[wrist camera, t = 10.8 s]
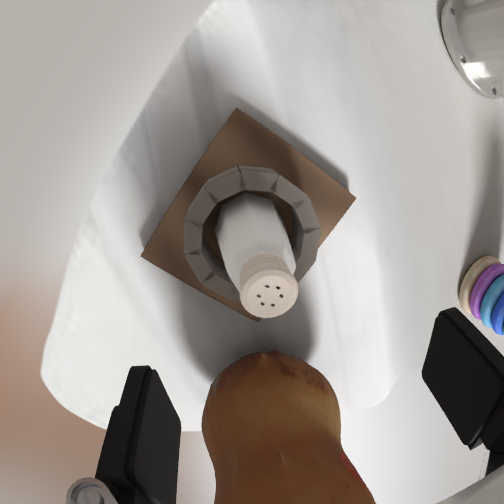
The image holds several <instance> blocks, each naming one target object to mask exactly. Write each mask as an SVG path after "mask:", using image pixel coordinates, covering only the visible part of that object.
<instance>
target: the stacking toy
mask: <svg viewBox="0 0 504 504" xmlns="http://www.w3.org/2000/svg"><path fill="white" fill-rule="evenodd" d="M459 301H460V305H461V307H462V309H463V310H464V311H465V312H466V313H468V314H473V316H474V317H475V318H477V319H480V320H482V322H483V324H484V325H485V326H487V327H489V328H493V330H494V331H495V332H496V333H497V334H499V335H504V264H501V263H500V261H499V260H498V259H497V258H495V257H493V256H484V257H482V258H480V259H479V260H477V261H476V262H475V263H474V264H473V265H472V266H471V268H470V269H469V270H468V272H467V273H466V275H465V277H464V279H463V281H462V284H461V288H460V293H459Z"/></svg>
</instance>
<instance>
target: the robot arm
mask: <svg viewBox="0 0 504 504" xmlns="http://www.w3.org/2000/svg"><path fill="white" fill-rule="evenodd" d="M441 24H442V31H443V36H444V40H445V43H446V46H447V49H448V51H449V53H450V56H451V58H452V60H453V62H454V64H455V65H456V67H457V69H458V71H459V72H460V73H461V75H462V76H463V78H464V79H465V80H466V81H467V82H468V83H469V85H470V86H471V87H472V88H474V89H475V90H476V91H477V92H478V93H480V94H482V95H484V96H486V97H490V98H503V97H504V0H447V1H446V2H445V4H444V6H443V9H442V15H441ZM422 378H423V380H424V382H425V383H426V385H427V386H428V388H429V389H430V391H431V392H432V394H433V395H434V397H435V399H436V400H437V402H438V403H439V405H440V407H441V408H442V410H443V411H444V413H445V415H446V416H447V418H448V420H449V421H450V423H451V424H452V426H453V427H454V429H455V431H456V433H457V435H458V436H459V438H460V440H461V441H462V443H463V444H464V445H468V447H469V449H470V450H472V449H474V448H476V447H477V446H479V445H481V444H482V443H483V444H484V445H485V447H486V448H485V453H484V459H483V464H482V468H481V472H480V477H479V481H477V482H476V483H474V484H472V485H471V486H469V487H467V488H466V489H464V490H462V491H460V492H458V493H456V494H454V495H453V496H451V497H449V498H447V499H445V500H443V501H441V502H439V503H437V504H504V356H503V355H502V354H501V353H500V352H499V351H498V350H497V349H496V348H495V347H494V346H493V345H492V343H490V341H489V340H488V339H487V338H486V337H485V336H484V335H483V334H482V333H481V332H480V331H479V330H478V329H477V328H476V327H475V326H474V325H473V324H472V323H471V322H470V321H469V320H468V319H467V318H466V317H465V316H464V315H463V314H462V313H461V312H460V311H459V310H458V309H457V308H455V307H453V308H449V309H446V310H443V311H441V312H440V313H439V315H438V317H437V318H436V319H435V323H434V328H433V332H432V336H431V340H430V344H429V348H428V351H427V355H426V358H425V362H424V365H423V369H422ZM180 435H181V422H180V419H179V417H178V415H177V413H176V411H175V409H174V407H173V405H172V403H171V400H170V398H169V396H168V394H167V392H166V390H165V388H164V386H163V384H162V381H161V379H160V377H159V375H158V373H157V371H156V370H155V369H154V370H152V369H151V367H150V366H148V365H146V366H132V367H131V368H130V370H129V373H128V377H127V380H126V383H125V386H124V390H123V393H122V397H121V400H120V404H119V405H118V406H115V407H114V409H113V411H112V414H111V417H110V421H109V424H108V428H107V432H106V436H105V439H104V443H103V447H102V451H101V455H100V458H99V462H98V467H97V471H96V475H95V478H91V477H89V478H82V479H79V480H77V481H76V482H74V483H73V484H72V485H71V486H70V488H69V489H68V492H67V495H66V502H67V504H176V493H177V476H178V462H179V461H178V460H179V448H180Z"/></svg>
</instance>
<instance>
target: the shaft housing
mask: <svg viewBox="0 0 504 504" xmlns="http://www.w3.org/2000/svg"><path fill="white" fill-rule="evenodd" d="M245 192H247V193H251V194H254V195H258V196H261V197H265V198H268V199H272V201H273V203H274V205H275V207H276V209H277V211H278V213H279V215H280V216H281V218H282V220H283V222H284V226H285V229H286V232H287V236H288V239H289V242H290V245H291V249H292V252H293V256H294V259H295V263H296V269H295V272H294V274H293V276H294V277H295V279H296V281H297V283H298V282H299V281H300V280H301V279H302V277H303V276H304V275H305V274H306V272H307V271H308V270H309V269H310V267H311V266H312V265H313V264H314V262H315V261H314V260H316V256H317V250H318V248H319V247H320V245H321V244H322V243H323V241H324V240H325V239H326V238H327V236H328V235H329V234H330V232H331V231H332V230H333V229H334V227H335V226H336V225H337V223H338V222H339V221H340V219H341V218H342V217H343V215H344V214H345V213H346V211H347V210H348V209H349V207H350V206H351V205H352V203H353V202H354V201H355V199H356V197H355V196H353V195H352V194H351V193H350V192H349V191H347V190H346V189H345V188H344V187H343V186H341V185H340V184H339V183H338V182H337V181H335V180H334V179H333V178H332V177H330V176H329V175H328V174H327V173H325V172H324V171H323V170H322V169H320V168H319V167H318V166H317V165H315V164H314V163H313V162H311V161H310V160H309V159H308V158H306V157H305V156H304V155H302V154H301V153H300V152H298V151H297V150H296V149H294V148H293V147H292V146H290V145H289V144H288V143H286V142H285V141H284V140H282V139H281V138H279V137H278V136H277V135H275V134H274V133H273V132H271V131H270V130H268V129H267V128H265V127H264V126H263V125H261V124H260V123H258V122H257V121H255V120H254V119H253V118H251V117H250V116H248V115H247V114H245V113H244V112H242V111H241V110H239V109H238V108H236V109H235V111H234V112H233V113H232V115H231V116H230V118H229V119H228V120H227V122H226V123H225V124H224V126H223V127H222V129H221V130H220V131H219V133H218V134H217V136H216V137H215V139H214V140H213V141H212V143H211V144H210V146H209V147H208V149H207V150H206V152H205V153H204V155H203V156H202V157H201V159H200V160H199V162H198V163H197V165H196V166H195V168H194V169H193V171H192V172H191V174H190V176H189V177H188V179H187V180H186V182H185V183H184V185H183V186H182V188H181V189H180V191H179V193H178V194H177V196H176V197H175V199H174V201H173V202H172V204H171V205H170V207H169V209H168V210H167V212H166V214H165V215H164V217H163V218H162V220H161V222H160V223H159V225H158V227H157V229H156V230H155V232H154V234H153V235H152V237H151V239H150V240H149V242H148V244H147V246H146V247H145V249H144V251H143V253H142V254H141V257H142V258H144V259H146V260H147V261H149V262H151V263H152V264H154V265H156V266H157V267H159V268H161V269H163V270H164V271H166V272H168V273H169V274H171V275H173V276H175V277H176V278H178V279H180V280H182V281H183V282H185V283H187V284H189V285H190V286H192V287H194V288H196V289H197V290H199V291H201V292H203V293H205V294H206V295H208V296H210V297H212V298H214V299H215V300H217V301H219V302H221V303H223V304H225V305H226V306H228V307H230V308H232V309H234V310H236V311H237V312H239V313H241V314H243V315H245V316H247V317H249V318H251V319H253V320H254V321H256V322H259V321H260V320H261V318H262V317H257V316H255V315H252V314H250V313H249V312H248V311H247V310H246V309H245V308H244V306H243V305H242V303H241V300H240V292H239V291H238V289H237V288H236V286H235V285H234V283H233V282H232V280H231V279H230V277H229V275H228V273H227V270H226V267H225V264H224V260H223V257H222V254H221V250H220V247H219V244H218V240H217V237H216V233H215V227H216V224H217V220H218V216H219V213H220V209H221V206H222V205H223V204H225V203H227V202H228V201H230V200H232V199H234V198H236V197H237V196H239V195H241V194H243V193H245Z"/></svg>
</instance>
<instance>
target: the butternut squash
mask: <svg viewBox="0 0 504 504" xmlns="http://www.w3.org/2000/svg"><path fill="white" fill-rule="evenodd" d="M202 433H203V437H204V441H205V444H206V447H207V449H208V452H209V455H210V457H211V460H212V463H213V466H214V470H215V478H216V493H215V501H214V504H376V503H375V501H374V498H373V496H372V494H371V492H370V491H369V489H368V488H367V486H366V484H365V483H364V482H363V480H362V478H361V477H360V475H359V474H358V472H357V470H356V469H355V467H354V466H353V465H352V463H351V462H350V460H349V459H348V457H347V455H346V454H345V452H344V451H343V448H342V445H341V438H340V433H341V419H340V410H339V405H338V400H337V397H336V394H335V392H334V390H333V388H332V386H331V385H330V383H329V382H328V380H327V379H326V378H325V377H324V375H323V374H322V373H320V372H319V371H318V370H317V369H315V368H313V367H312V366H310V365H309V364H307V363H306V362H304V361H302V360H300V359H297V358H295V357H292V356H288V355H284V354H282V353H281V352H279V351H276V350H274V351H272V352H269V353H253V354H250V355H247V356H245V357H243V358H241V359H239V360H237V361H236V362H234V363H232V364H231V365H229V366H228V367H227V368H226V369H225V370H223V371H222V372H221V373H220V374H219V375H218V377H217V378H216V380H215V381H214V382H213V383H212V384H211V387H210V390H209V393H208V396H207V400H206V403H205V407H204V411H203V416H202Z"/></svg>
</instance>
